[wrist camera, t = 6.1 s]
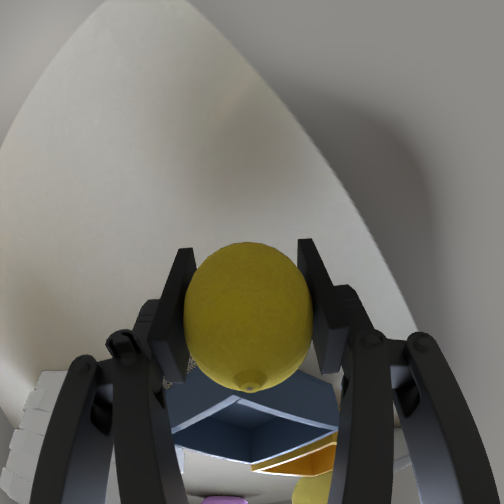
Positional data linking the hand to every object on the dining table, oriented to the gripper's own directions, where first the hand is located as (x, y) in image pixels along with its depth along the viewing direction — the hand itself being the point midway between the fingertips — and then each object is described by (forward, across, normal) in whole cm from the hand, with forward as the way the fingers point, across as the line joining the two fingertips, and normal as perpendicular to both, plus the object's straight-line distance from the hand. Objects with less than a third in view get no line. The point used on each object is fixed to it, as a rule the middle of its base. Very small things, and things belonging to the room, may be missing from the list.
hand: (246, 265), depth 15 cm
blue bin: (+3, -2, -18) cm, 19 cm away
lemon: (+1, 0, 0) cm, 1 cm away
